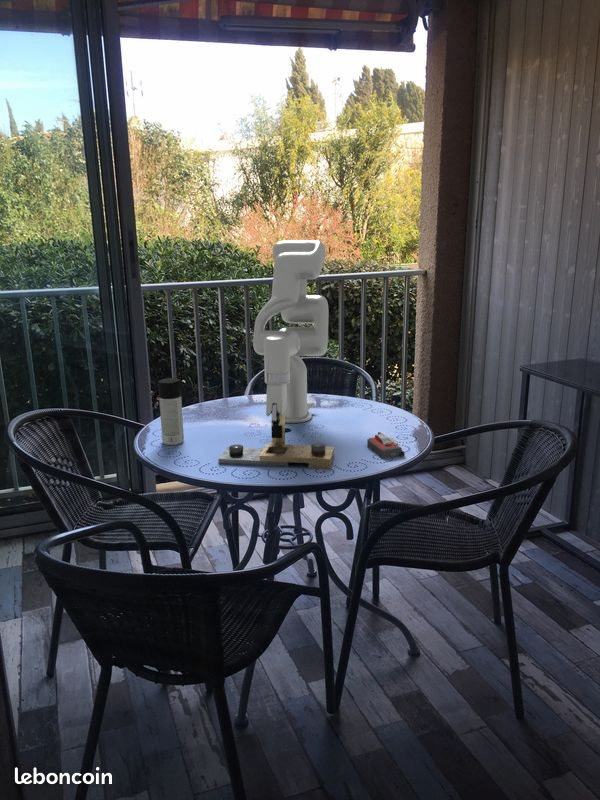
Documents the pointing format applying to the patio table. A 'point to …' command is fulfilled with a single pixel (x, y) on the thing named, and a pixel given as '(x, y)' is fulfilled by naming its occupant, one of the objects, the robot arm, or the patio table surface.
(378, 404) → the patio table surface
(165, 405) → the spray can
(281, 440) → the pin
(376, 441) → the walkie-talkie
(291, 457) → the peg insertion board
